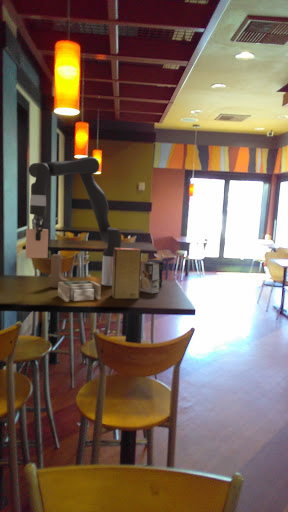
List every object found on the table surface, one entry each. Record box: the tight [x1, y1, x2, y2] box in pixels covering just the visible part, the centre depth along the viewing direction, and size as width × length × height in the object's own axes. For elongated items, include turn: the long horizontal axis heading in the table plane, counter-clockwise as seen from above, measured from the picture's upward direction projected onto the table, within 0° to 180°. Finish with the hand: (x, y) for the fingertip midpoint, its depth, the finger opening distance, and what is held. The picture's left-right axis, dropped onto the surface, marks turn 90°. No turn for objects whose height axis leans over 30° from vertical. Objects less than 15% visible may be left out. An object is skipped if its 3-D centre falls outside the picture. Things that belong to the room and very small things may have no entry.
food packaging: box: [111, 247, 142, 300], centre depth 201 cm, size 13×9×25 cm
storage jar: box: [146, 259, 164, 288], centre depth 235 cm, size 10×10×15 cm
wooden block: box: [50, 253, 70, 289], centre depth 216 cm, size 9×4×18 cm, turn 81°
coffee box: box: [139, 261, 160, 294], centre depth 218 cm, size 9×6×16 cm
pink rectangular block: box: [25, 228, 49, 259], centre depth 193 cm, size 10×3×14 cm, turn 119°
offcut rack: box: [57, 280, 102, 303], centre depth 196 cm, size 18×13×7 cm
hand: (37, 240), depth 193 cm, fingers closed on pink rectangular block, 3 cm apart
